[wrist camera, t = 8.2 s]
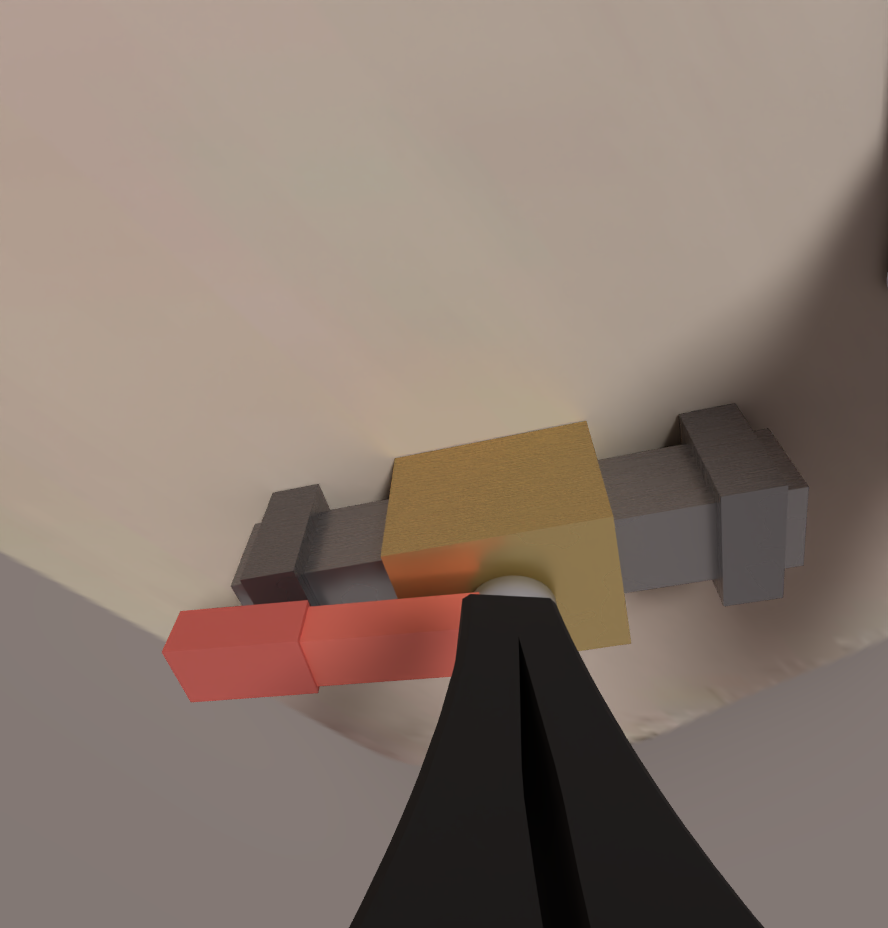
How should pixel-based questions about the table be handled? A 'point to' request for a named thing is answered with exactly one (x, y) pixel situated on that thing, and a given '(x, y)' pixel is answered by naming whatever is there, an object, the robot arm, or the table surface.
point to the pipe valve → (548, 525)
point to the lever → (321, 643)
